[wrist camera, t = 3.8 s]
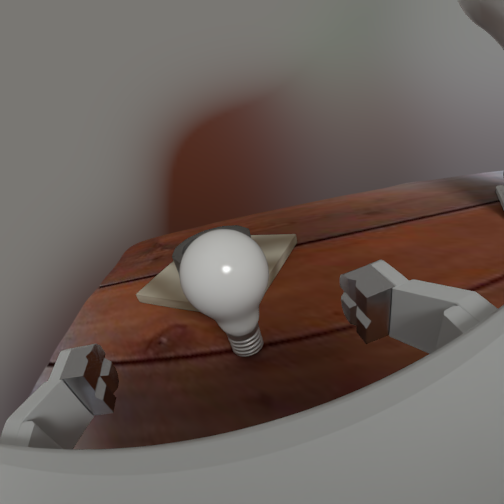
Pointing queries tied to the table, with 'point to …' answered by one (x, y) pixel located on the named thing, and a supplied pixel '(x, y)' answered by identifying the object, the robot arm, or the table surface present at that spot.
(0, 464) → the robot arm
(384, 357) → the table surface
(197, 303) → the lightbulb
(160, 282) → the jig
